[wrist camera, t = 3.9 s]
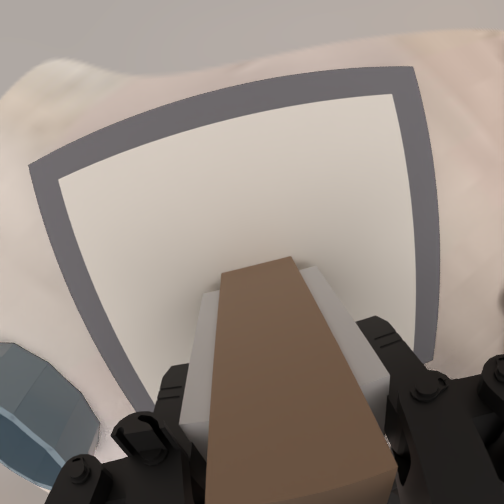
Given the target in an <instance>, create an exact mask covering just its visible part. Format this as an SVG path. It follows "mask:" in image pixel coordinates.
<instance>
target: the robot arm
mask: <svg viewBox="0 0 504 504" xmlns="http://www.w3.org/2000/svg"><path fill="white" fill-rule="evenodd" d="M299 272H300V273H301V275H302V277H303V279H304V281H305V283H306V284H307V286H308V288H309V290H310V292H311V294H312V296H313V298H314V299H315V301H316V303H317V305H318V307H319V309H320V311H321V313H322V314H323V316H324V318H325V320H326V322H327V324H328V326H329V328H330V330H331V332H332V334H333V335H334V337H335V339H336V341H337V343H338V345H339V347H340V349H341V351H342V353H343V355H344V357H345V359H346V361H347V363H348V365H349V367H350V369H351V371H352V373H353V375H354V376H355V378H356V380H357V382H358V384H359V386H360V388H361V390H362V393H363V395H364V397H365V399H366V401H367V403H368V405H369V407H370V409H371V411H372V413H373V415H374V417H375V419H376V421H377V423H378V425H379V427H380V429H381V431H382V434H383V436H384V438H385V433H386V435H387V438H388V440H389V442H390V444H391V448H390V450H391V453H392V455H393V457H394V459H395V461H396V463H397V466H398V469H397V472H396V476H395V479H394V483H393V486H392V489H391V493H390V496H389V499H388V502H387V504H504V354H503V355H496V356H494V357H492V358H490V359H489V360H488V361H487V362H486V363H485V364H484V367H483V370H482V374H479V375H475V376H470V377H466V378H461V379H449V378H448V377H447V376H446V375H444V374H442V373H440V372H438V371H431V370H427V369H426V367H425V366H424V365H423V363H422V362H421V361H420V360H419V358H418V357H417V356H416V355H415V353H414V352H413V351H412V350H411V349H410V347H409V346H408V345H407V344H406V342H405V341H403V340H402V338H401V336H400V335H399V334H398V333H396V330H395V329H394V328H393V327H392V325H391V324H390V323H389V322H388V321H386V320H384V319H382V318H380V317H378V316H376V315H375V316H372V317H369V318H366V319H363V320H359V321H356V322H355V321H354V320H353V318H352V317H351V315H350V314H349V312H348V311H347V309H346V308H345V306H344V305H343V304H342V302H341V301H340V299H339V298H338V296H337V295H336V293H335V292H334V291H333V289H332V288H331V286H330V285H329V283H328V282H327V280H326V279H325V278H324V276H323V275H322V273H321V272H320V271H319V269H318V268H317V266H313V267H310V268H306V269H302V270H299ZM219 293H220V290H217V291H213V292H208V293H204V294H203V296H202V301H201V306H200V311H199V316H198V321H197V326H196V331H195V336H194V341H193V347H192V352H191V357H190V363H186V364H180V365H174V366H171V367H170V368H169V370H168V371H167V372H166V373H165V375H164V376H163V378H162V381H161V385H160V391H159V392H158V396H157V401H156V404H155V408H154V411H153V412H150V411H139V412H136V413H133V414H130V415H128V416H126V417H125V418H123V419H122V420H120V421H119V422H118V424H117V425H116V426H115V427H114V429H113V431H112V434H111V437H112V438H113V439H114V441H115V442H116V443H117V444H118V445H119V447H120V448H121V449H122V450H123V451H124V452H125V453H126V455H127V456H128V457H125V458H122V459H119V460H115V461H111V462H107V463H103V464H101V463H100V462H99V460H98V459H97V458H96V457H94V456H92V455H89V454H79V455H77V456H74V457H72V458H71V459H69V460H68V461H67V462H66V463H65V464H64V466H63V467H62V468H61V470H60V472H59V474H58V476H57V478H56V481H55V483H54V485H53V487H52V489H51V491H50V493H49V495H48V497H47V500H46V502H45V504H205V489H206V468H207V449H208V432H209V416H210V402H211V387H212V374H213V361H214V349H215V337H216V325H217V314H218V303H219Z"/></svg>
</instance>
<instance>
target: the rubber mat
mask: <svg viewBox="0 0 504 504" xmlns="http://www.w3.org/2000/svg"><path fill="white" fill-rule="evenodd" d="M384 94H392V96H393V100H394V104H395V109H396V113H397V118H398V122H399V127H400V132H401V137H402V142H403V148H404V154H405V160H406V166H407V173H408V180H409V187H410V196H411V205H412V215H413V227H414V242H415V265H416V312H415V335H414V350H413V352H414V353H415V355H416V356H417V357H418V358H419V360H420V361H421V362H422V363H423V364H425V363H427V362H429V361H431V360H433V355H434V348H435V339H436V330H437V319H438V306H439V286H440V233H439V213H438V200H437V189H436V180H435V171H434V163H433V156H432V150H431V144H430V138H429V132H428V127H427V122H426V117H425V112H424V108H423V103H422V99H421V95H420V91H419V87H418V83H417V79H416V76H415V72H414V69H413V67H410V66H394V67H364V68H348V69H337V70H326V71H318V72H309V73H302V74H295V75H288V76H282V77H276V78H271V79H265V80H260V81H255V82H250V83H245V84H241V85H236V86H232V87H228V88H224V89H219V90H216V91H212V92H208V93H204V94H200V95H197V96H193V97H190V98H186V99H183V100H180V101H177V102H173V103H170V104H167V105H164V106H161V107H158V108H155V109H152V110H149V111H146V112H144V113H141V114H138V115H135V116H133V117H130V118H127V119H125V120H122V121H120V122H117V123H115V124H112V125H110V126H107V127H105V128H103V129H100V130H98V131H96V132H93V133H91V134H89V135H87V136H84V137H82V138H80V139H78V140H76V141H74V142H72V143H70V144H67V145H65V146H63V147H61V148H59V149H57V150H55V151H53V152H52V153H50V154H48V155H46V156H44V157H42V158H40V159H38V160H37V161H35V162H33V163H31V164H29V165H28V166H29V171H30V175H31V179H32V183H33V187H34V191H35V194H36V198H37V202H38V205H39V209H40V212H41V215H42V218H43V222H44V225H45V228H46V231H47V234H48V237H49V240H50V243H51V245H52V248H53V251H54V254H55V256H56V259H57V262H58V264H59V267H60V269H61V272H62V274H63V277H64V279H65V282H66V284H67V286H68V289H69V291H70V293H71V296H72V298H73V300H74V302H75V304H76V307H77V309H78V311H79V313H80V315H81V317H82V319H83V321H84V323H85V325H86V327H87V329H88V331H89V333H90V335H91V337H92V339H93V341H94V343H95V345H96V347H97V348H98V350H99V352H100V354H101V356H102V358H103V359H104V361H105V363H106V365H107V366H108V368H109V370H110V371H111V373H112V375H113V376H114V378H115V380H116V381H117V383H118V385H119V386H120V388H121V390H122V391H123V393H124V394H125V396H126V397H127V399H128V400H129V402H130V403H131V405H132V406H133V408H134V409H135V411H136V412H139V411H150V412H153V411H154V408H155V404H154V402H153V401H152V399H151V397H150V396H149V394H148V392H147V391H146V389H145V387H144V385H143V384H142V382H141V380H140V379H139V377H138V375H137V373H136V371H135V370H134V368H133V366H132V364H131V362H130V361H129V359H128V357H127V355H126V353H125V351H124V349H123V347H122V345H121V343H120V341H119V339H118V337H117V335H116V333H115V331H114V329H113V327H112V325H111V323H110V321H109V319H108V317H107V314H106V312H105V310H104V308H103V306H102V303H101V301H100V299H99V297H98V294H97V292H96V290H95V287H94V285H93V282H92V280H91V277H90V275H89V272H88V270H87V267H86V265H85V262H84V259H83V257H82V254H81V251H80V249H79V246H78V243H77V240H76V237H75V234H74V231H73V228H72V225H71V222H70V219H69V216H68V213H67V209H66V206H65V203H64V199H63V196H62V192H61V188H60V185H59V181H58V179H60V178H62V177H64V176H67V175H69V174H71V173H73V172H76V171H78V170H80V169H82V168H85V167H87V166H89V165H92V164H94V163H97V162H99V161H102V160H104V159H107V158H109V157H112V156H114V155H117V154H120V153H122V152H125V151H128V150H130V149H133V148H136V147H139V146H141V145H144V144H147V143H150V142H153V141H156V140H159V139H162V138H165V137H168V136H172V135H175V134H178V133H181V132H185V131H188V130H191V129H195V128H198V127H202V126H206V125H209V124H213V123H217V122H221V121H225V120H229V119H233V118H237V117H241V116H245V115H250V114H254V113H259V112H264V111H268V110H273V109H279V108H284V107H289V106H295V105H301V104H307V103H313V102H320V101H327V100H335V99H343V98H351V97H361V96H372V95H384Z"/></svg>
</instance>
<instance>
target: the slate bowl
mask: <svg viewBox="0 0 504 504" xmlns="http://www.w3.org/2000/svg"><path fill="white" fill-rule="evenodd" d="M99 425H100V423H99V421H98V420H97V418H96V416H95V415H94V413H93V412H92V410H91V408H90V407H89V405H88V404H87V402H86V400H85V398H84V397H83V395H82V393H80V392H79V391H78V390H77V389H76V388H75V387H74V386H73V385H71V384H70V383H69V382H68V381H67V380H66V379H65V378H64V377H63V376H62V375H61V374H60V373H59V372H57V371H56V370H55V369H54V368H53V367H52V366H51V365H50V364H49V363H48V362H46V361H44V360H42V359H41V358H39V357H37V356H35V355H33V354H32V353H30V352H28V351H26V350H25V349H23V348H21V347H19V346H18V345H16V344H14V343H0V463H2V464H3V465H4V466H5V467H7V468H8V469H9V470H11V471H13V472H14V473H16V474H17V475H19V476H21V477H23V478H24V479H26V480H28V481H30V482H31V483H33V484H35V485H37V486H39V487H42V488H45V489H48V490H51V489H52V487H53V485H54V483H55V481H56V478H57V476H58V474H59V472H60V470H61V468H62V467H63V466H64V464H65V463H66V462H67V461H68V460H69V459H71V458H72V457H74V456H77V455H79V454H89V455H92V456H93V455H94V452H95V450H96V447H97V444H98V438H99Z"/></svg>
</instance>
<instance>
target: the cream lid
mask: <svg viewBox="0 0 504 504" xmlns="http://www.w3.org/2000/svg"><path fill="white" fill-rule="evenodd" d="M58 181H59V185H60V188H61V192H62V196H63V199H64V203H65V206H66V209H67V213H68V216H69V219H70V222H71V225H72V228H73V231H74V234H75V237H76V240H77V243H78V246H79V249H80V251H81V254H82V257H83V259H84V262H85V265H86V267H87V270H88V272H89V275H90V277H91V280H92V282H93V285H94V287H95V290H96V292H97V294H98V297H99V299H100V301H101V303H102V306H103V308H104V310H105V312H106V314H107V317H108V319H109V321H110V323H111V325H112V327H113V329H114V331H115V333H116V335H117V337H118V339H119V341H120V343H121V345H122V347H123V349H124V351H125V353H126V355H127V357H128V359H129V361H130V362H131V364H132V366H133V368H134V370H135V371H136V373H137V375H138V377H139V379H140V380H141V382H142V384H143V385H144V387H145V389H146V391H147V392H148V394H149V396H150V397H151V399H152V401H153V402H154V404H156V401H157V396H158V392H159V391H160V385H161V381H162V378H163V376H164V375H165V373H166V372H167V371H168V370H169V368H170V367H171V366H174V365H180V364H186V363H190V357H191V352H192V347H193V341H194V336H195V331H196V326H197V321H198V316H199V311H200V306H201V301H202V296H203V294H204V293H208V292H213V291H217V290H220V293H219V303H218V314H217V325H216V337H215V349H214V361H213V374H212V387H211V402H210V416H209V432H208V449H207V468H206V489H205V504H387V502H388V499H389V496H390V493H391V489H392V486H393V483H394V479H395V476H396V472H397V469H398V466H397V463H396V461H395V459H394V457H393V455H392V453H391V450H390V448H389V446H388V444H387V442H386V440H385V438H384V436H383V434H382V431H381V429H380V427H379V425H378V423H377V421H376V419H375V417H374V415H373V413H372V411H371V409H370V407H369V405H368V403H367V401H366V399H365V397H364V395H363V393H362V390H361V388H360V386H359V384H358V382H357V380H356V378H355V376H354V375H353V373H352V371H351V369H350V367H349V365H348V363H347V361H346V359H345V357H344V355H343V353H342V351H341V349H340V347H339V345H338V343H337V341H336V339H335V337H334V335H333V334H332V332H331V330H330V328H329V326H328V324H327V322H326V320H325V318H324V316H323V314H322V313H321V311H320V309H319V307H318V305H317V303H316V301H315V299H314V298H313V296H312V294H311V292H310V290H309V288H308V286H307V284H306V283H305V281H304V279H303V277H302V275H301V273H300V272H299V270H302V269H306V268H310V267H313V266H317V268H318V269H319V271H320V272H321V273H322V275H323V276H324V278H325V279H326V280H327V282H328V283H329V285H330V286H331V288H332V289H333V291H334V292H335V293H336V295H337V296H338V298H339V299H340V301H341V302H342V304H343V305H344V306H345V308H346V309H347V311H348V312H349V314H350V315H351V317H352V318H353V320H354V321H355V322H356V321H359V320H363V319H366V318H369V317H372V316H375V315H376V316H378V317H380V318H382V319H384V320H386V321H388V322H389V323H390V324H391V325H392V327H393V328H394V329H395V330H396V333H398V334H399V335H400V336H401V338H402V340H403V341H405V342H406V344H407V345H408V346H409V347H410V349H411V350H412V351H413V350H414V335H415V312H416V265H415V242H414V227H413V215H412V205H411V196H410V187H409V180H408V173H407V166H406V160H405V154H404V148H403V142H402V137H401V132H400V127H399V122H398V118H397V113H396V109H395V104H394V100H393V96H392V94H384V95H372V96H361V97H351V98H343V99H335V100H327V101H320V102H313V103H307V104H301V105H295V106H289V107H284V108H279V109H273V110H268V111H264V112H259V113H254V114H250V115H245V116H241V117H237V118H233V119H229V120H225V121H221V122H217V123H213V124H209V125H206V126H202V127H198V128H195V129H191V130H188V131H185V132H181V133H178V134H175V135H172V136H168V137H165V138H162V139H159V140H156V141H153V142H150V143H147V144H144V145H141V146H139V147H136V148H133V149H130V150H128V151H125V152H122V153H120V154H117V155H114V156H112V157H109V158H107V159H104V160H102V161H99V162H97V163H94V164H92V165H89V166H87V167H85V168H82V169H80V170H78V171H76V172H73V173H71V174H69V175H67V176H64V177H62V178H60V179H58Z"/></svg>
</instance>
